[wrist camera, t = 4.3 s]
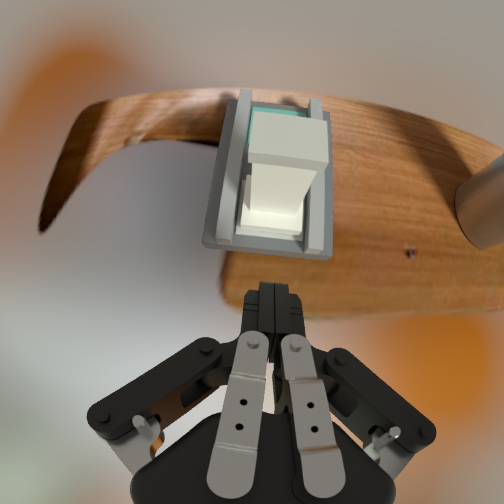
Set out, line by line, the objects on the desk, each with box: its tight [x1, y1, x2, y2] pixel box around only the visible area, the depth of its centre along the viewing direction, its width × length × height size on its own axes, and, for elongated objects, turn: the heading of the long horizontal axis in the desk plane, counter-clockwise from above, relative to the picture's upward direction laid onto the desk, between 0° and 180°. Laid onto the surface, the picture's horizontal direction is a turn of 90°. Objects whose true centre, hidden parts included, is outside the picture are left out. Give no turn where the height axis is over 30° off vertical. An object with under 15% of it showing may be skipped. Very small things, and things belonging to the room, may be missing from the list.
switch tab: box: [241, 111, 329, 235], centre depth 18 cm, size 4×5×10 cm
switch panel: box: [202, 89, 333, 261], centre depth 25 cm, size 16×11×4 cm
